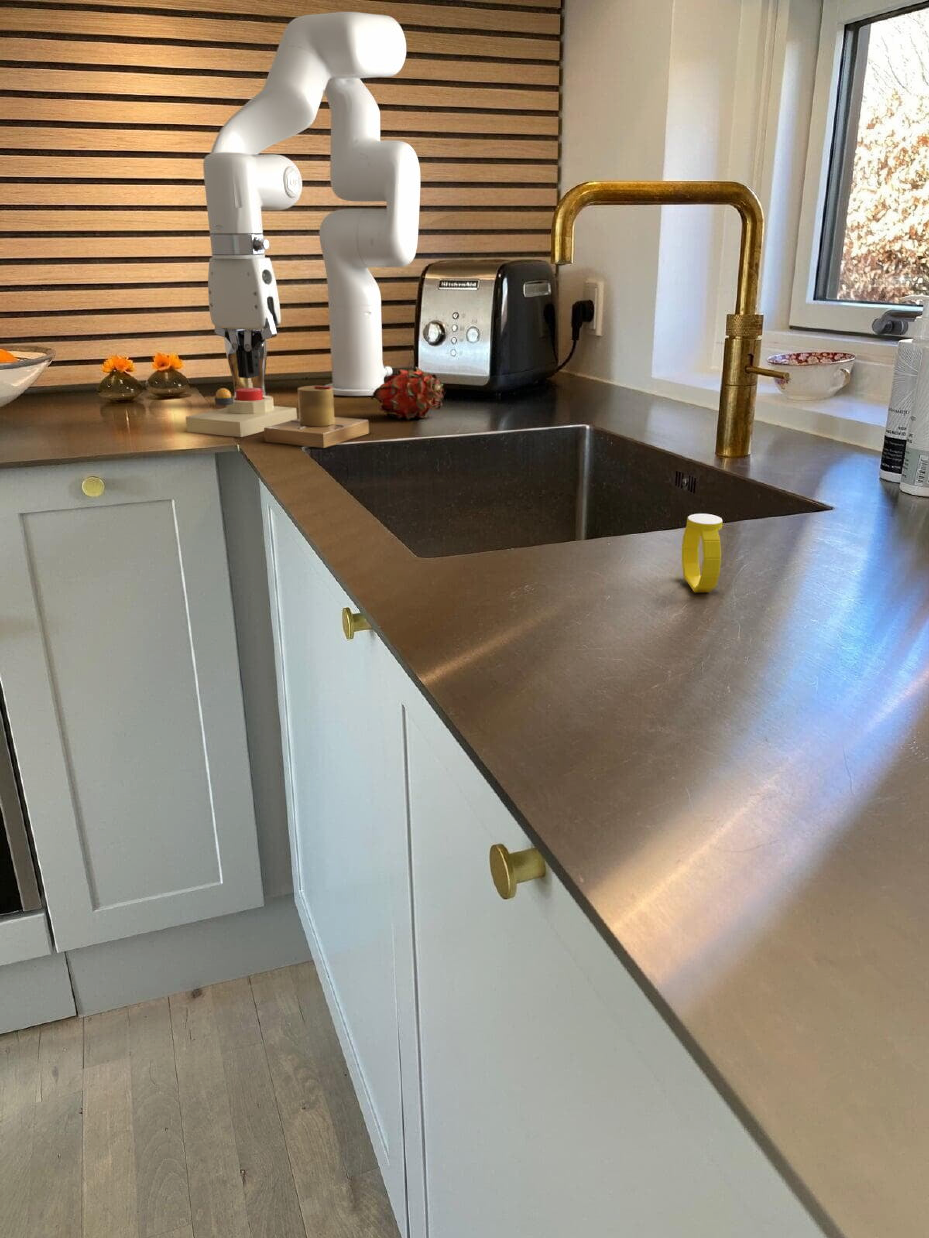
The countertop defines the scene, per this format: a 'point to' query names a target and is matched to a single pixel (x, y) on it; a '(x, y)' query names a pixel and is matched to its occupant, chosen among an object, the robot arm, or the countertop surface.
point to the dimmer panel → (316, 432)
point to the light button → (249, 394)
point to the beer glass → (247, 382)
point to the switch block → (241, 418)
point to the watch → (711, 551)
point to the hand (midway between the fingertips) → (249, 376)
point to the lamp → (223, 397)
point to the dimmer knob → (316, 405)
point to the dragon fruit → (410, 394)
